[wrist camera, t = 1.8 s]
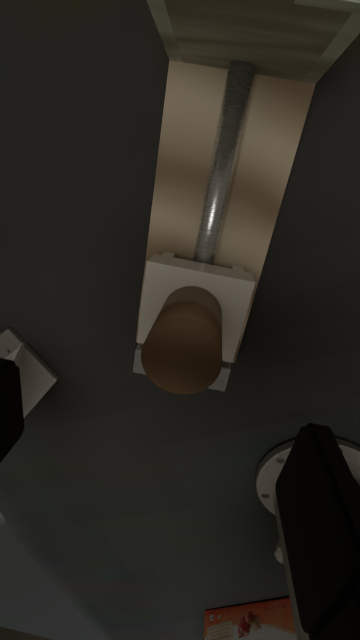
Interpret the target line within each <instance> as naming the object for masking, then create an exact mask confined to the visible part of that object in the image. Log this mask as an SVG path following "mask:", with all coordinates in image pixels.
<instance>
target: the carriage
mask: <svg viewBox="0 0 360 640" xmlns="http://www.w3.org/2000/svg"><path fill="white" fill-rule="evenodd" d="M254 286H255V280H254V278H253V275H252V273H250V272H245V271H244V268H243V266H238V265H232V269H230V268H225V267H220V266H215V265H210V264H205V263H200V262H194V261H189V260H184V259H179V258H175V253H171V252H166V251H165V252H164V253H163V254H162V255H159V254H154V255H153V256H152V257H151V258H149V259H148V260H147V262H146V271H145V279H144V287H143V295H142V304H141V312H140V320H139V328H138V336H137V343H142V344H143V346H142V350H141V363H142V367H143V369H144V371H145V373H146V375H147V376H148V377H149V379H150V380H151V381H152V382H153V383H154V384H156V385H157V386H158V387H160V388H162V389H164V390H166V391H168V392H171V393H175V394H194V393H198V392H200V391H203V390H205V389H206V388H208V387H209V386H211V385H212V384H213V383H214V382H215V381H216V379H217V378H218V376H219V374H220V372H221V368H222V361H226V362H231V363H233V359H234V356H235V352H236V349H237V345H238V342H239V338H240V335H241V331H242V328H243V324H244V321H245V317H246V314H247V310H248V307H249V303H250V300H251V296H252V293H253V289H254Z"/></svg>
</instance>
